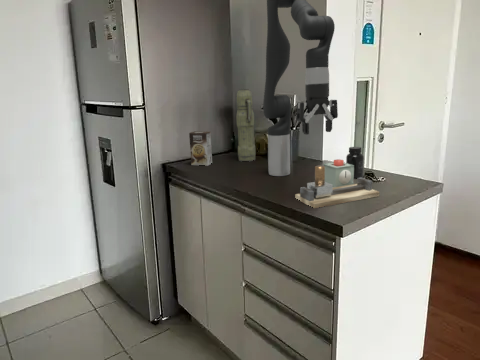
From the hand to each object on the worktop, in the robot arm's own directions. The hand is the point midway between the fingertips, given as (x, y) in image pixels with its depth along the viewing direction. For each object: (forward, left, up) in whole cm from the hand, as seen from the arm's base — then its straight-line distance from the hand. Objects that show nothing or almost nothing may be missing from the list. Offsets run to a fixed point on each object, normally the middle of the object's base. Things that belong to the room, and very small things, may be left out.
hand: (317, 133), depth 129 cm
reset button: (-9, +15, -17) cm, 25 cm away
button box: (-9, +15, -23) cm, 29 cm away
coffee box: (-73, -20, -23) cm, 79 cm away
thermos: (-70, +3, -23) cm, 74 cm away
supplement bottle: (-16, +28, -23) cm, 40 cm away
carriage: (+3, -1, -21) cm, 21 cm away
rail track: (+3, +6, -23) cm, 24 cm away
